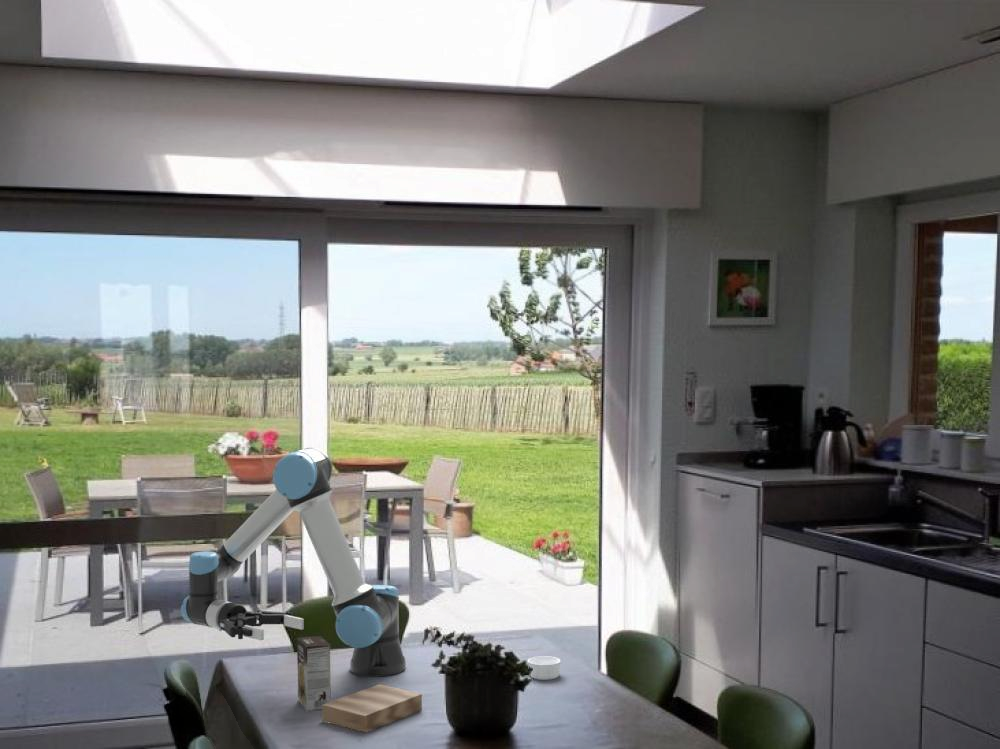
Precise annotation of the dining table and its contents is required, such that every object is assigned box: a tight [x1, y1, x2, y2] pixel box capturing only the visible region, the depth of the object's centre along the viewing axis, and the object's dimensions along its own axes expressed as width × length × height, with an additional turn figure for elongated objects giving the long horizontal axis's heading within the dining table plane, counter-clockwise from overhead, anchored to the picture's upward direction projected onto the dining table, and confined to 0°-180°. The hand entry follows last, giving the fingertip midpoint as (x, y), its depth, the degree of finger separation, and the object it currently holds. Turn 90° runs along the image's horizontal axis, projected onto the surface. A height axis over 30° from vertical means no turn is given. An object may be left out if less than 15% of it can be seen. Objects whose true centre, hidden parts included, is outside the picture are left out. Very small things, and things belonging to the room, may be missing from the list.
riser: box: [321, 683, 423, 733], centre depth 289 cm, size 20×14×4 cm
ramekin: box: [527, 655, 562, 681], centre depth 320 cm, size 9×9×4 cm
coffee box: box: [296, 635, 332, 711], centre depth 298 cm, size 9×6×16 cm
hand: (283, 629), depth 303 cm, fingers open, 13 cm apart
